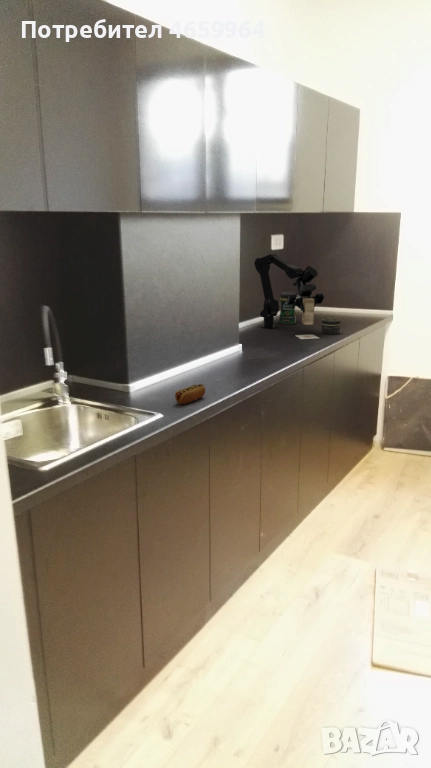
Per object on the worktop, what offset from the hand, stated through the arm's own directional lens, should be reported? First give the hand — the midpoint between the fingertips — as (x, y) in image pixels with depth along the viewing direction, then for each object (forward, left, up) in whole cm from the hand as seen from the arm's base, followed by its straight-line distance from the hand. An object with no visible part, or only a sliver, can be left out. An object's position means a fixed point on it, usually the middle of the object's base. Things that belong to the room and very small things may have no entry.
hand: (308, 312), depth 297 cm
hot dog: (+117, -30, -14) cm, 121 cm away
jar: (-14, +11, -14) cm, 22 cm away
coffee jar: (-40, -16, -14) cm, 45 cm away
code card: (-1, -1, -13) cm, 13 cm away
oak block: (-1, -1, -6) cm, 6 cm away
